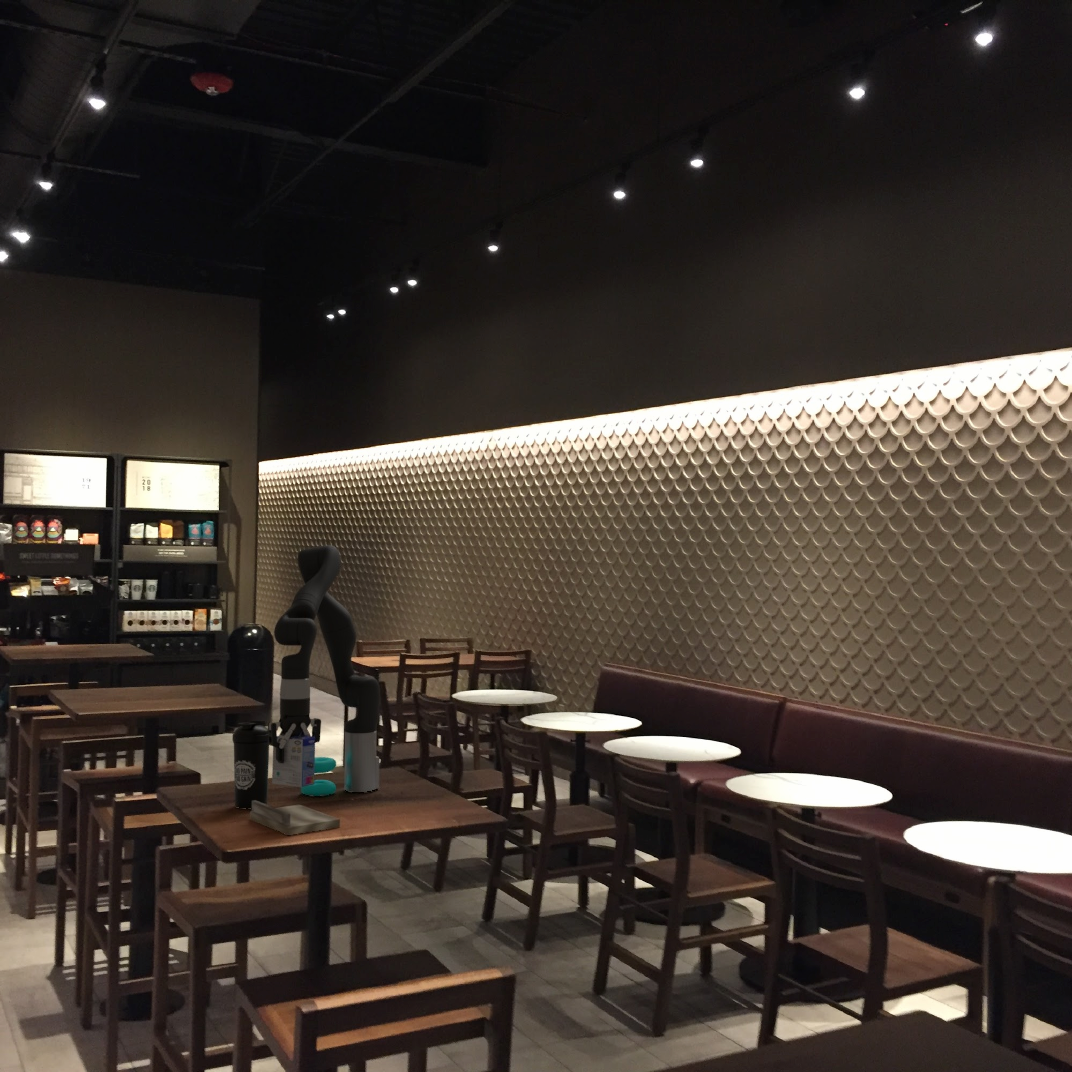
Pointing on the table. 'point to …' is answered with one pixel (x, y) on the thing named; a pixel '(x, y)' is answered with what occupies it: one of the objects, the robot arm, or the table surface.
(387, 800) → the table surface
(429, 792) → the table surface
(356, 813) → the table surface
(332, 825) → the shelf board
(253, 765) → the water bottle
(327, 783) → the donuts
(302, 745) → the ink cartridge box
